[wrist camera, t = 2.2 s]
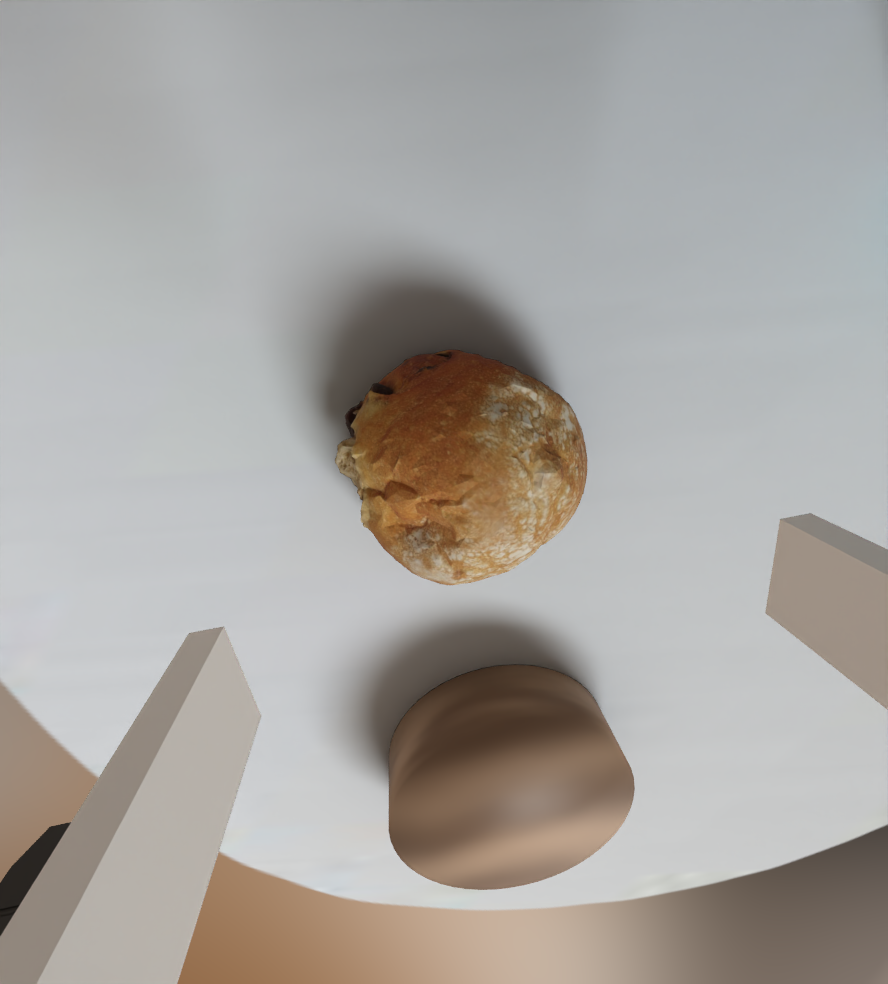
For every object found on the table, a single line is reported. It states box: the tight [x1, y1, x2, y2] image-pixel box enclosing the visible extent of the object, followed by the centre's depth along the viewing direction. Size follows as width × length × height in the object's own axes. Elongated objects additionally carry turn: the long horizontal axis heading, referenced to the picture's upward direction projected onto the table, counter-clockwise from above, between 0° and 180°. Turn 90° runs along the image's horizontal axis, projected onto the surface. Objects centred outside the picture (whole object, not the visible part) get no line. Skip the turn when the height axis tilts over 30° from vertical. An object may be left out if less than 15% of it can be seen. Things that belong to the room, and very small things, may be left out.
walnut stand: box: [389, 665, 634, 890], centre depth 27 cm, size 14×14×4 cm
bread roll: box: [335, 350, 587, 585], centre depth 19 cm, size 10×10×8 cm
